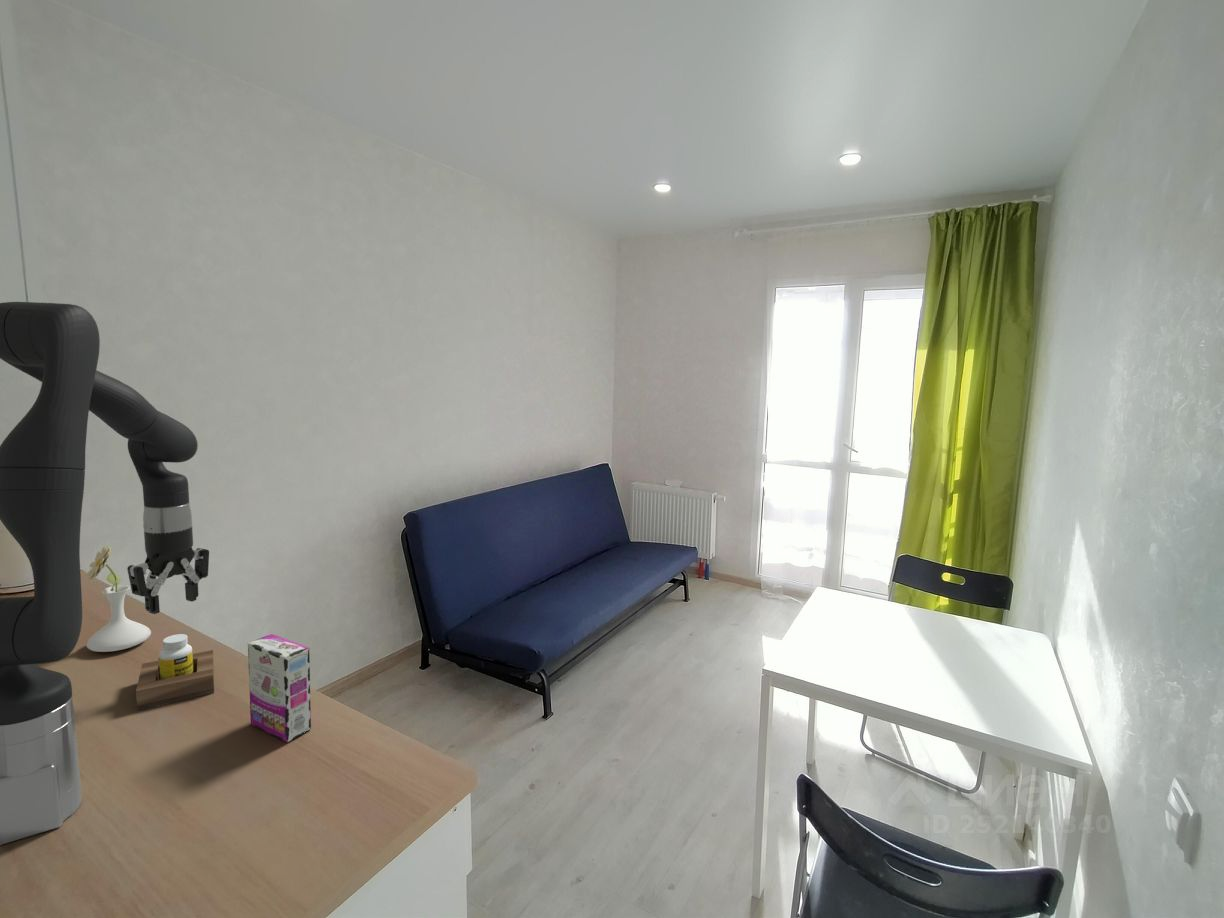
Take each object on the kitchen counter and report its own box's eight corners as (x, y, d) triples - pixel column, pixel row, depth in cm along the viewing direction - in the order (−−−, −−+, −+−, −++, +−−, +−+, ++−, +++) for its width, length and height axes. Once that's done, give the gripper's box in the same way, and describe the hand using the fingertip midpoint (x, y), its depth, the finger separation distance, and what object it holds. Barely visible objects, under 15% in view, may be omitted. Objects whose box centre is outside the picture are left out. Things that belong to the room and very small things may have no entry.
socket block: (214, 692, 114) (213, 674, 113) (137, 710, 107) (135, 691, 106) (213, 666, 124) (213, 649, 123) (143, 681, 117) (142, 663, 116)
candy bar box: (313, 729, 104) (311, 646, 102) (287, 744, 100) (284, 658, 97) (275, 711, 109) (272, 632, 107) (249, 724, 105) (245, 642, 102)
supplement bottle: (175, 692, 112) (172, 646, 110) (153, 687, 113) (150, 642, 112) (200, 678, 117) (198, 634, 116) (179, 674, 118) (176, 630, 117)
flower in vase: (96, 638, 133) (88, 537, 130) (157, 631, 138) (150, 533, 135) (75, 664, 122) (65, 554, 118) (142, 655, 127) (134, 549, 123)
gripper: (140, 537, 103) (145, 623, 105) (218, 520, 116) (221, 597, 118) (113, 532, 105) (120, 616, 107) (193, 516, 118) (197, 591, 121)
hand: (173, 606), depth 113 cm, fingers open, 6 cm apart
